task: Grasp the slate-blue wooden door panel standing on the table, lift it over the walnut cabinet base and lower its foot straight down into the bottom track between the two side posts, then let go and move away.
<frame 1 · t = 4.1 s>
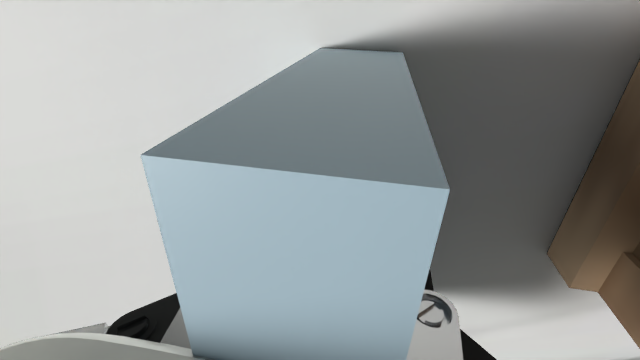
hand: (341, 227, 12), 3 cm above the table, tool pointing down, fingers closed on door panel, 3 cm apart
door panel: (349, 191, 15), on the table, touching gripper
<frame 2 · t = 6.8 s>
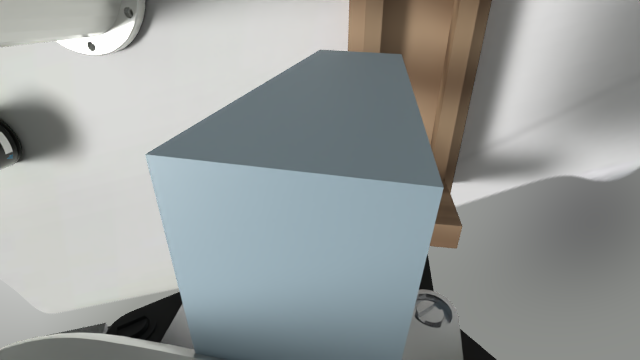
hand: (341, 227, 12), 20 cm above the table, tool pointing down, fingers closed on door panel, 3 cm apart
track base: (408, 66, 27), on the table
supplement container: (0, 137, 39), on the table
door panel: (348, 192, 15), point 17 cm above the table, touching gripper
when the fingers open (6 cm above the table, at t = 9.4 s): door panel stays where it is, resting on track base.
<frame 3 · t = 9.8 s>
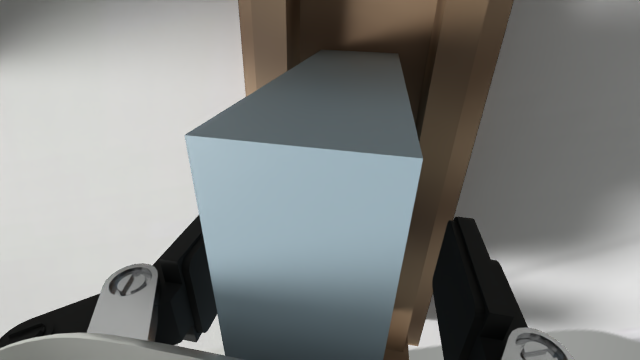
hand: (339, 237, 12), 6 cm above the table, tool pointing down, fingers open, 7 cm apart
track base: (354, 164, 17), on the table
door panel: (348, 184, 15), point 2 cm above the table, touching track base
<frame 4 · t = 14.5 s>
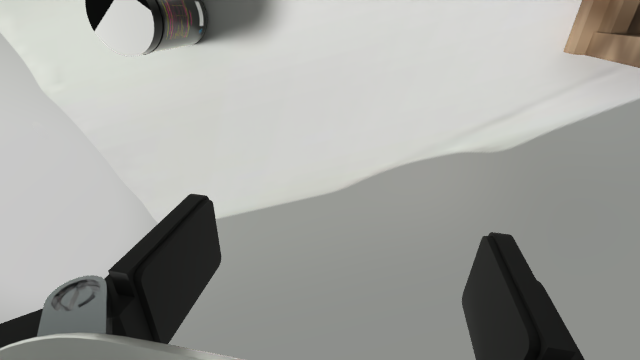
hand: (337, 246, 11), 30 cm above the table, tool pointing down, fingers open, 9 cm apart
supplement container: (184, 15, 38), on the table
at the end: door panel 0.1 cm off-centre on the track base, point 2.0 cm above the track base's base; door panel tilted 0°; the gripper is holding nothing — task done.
